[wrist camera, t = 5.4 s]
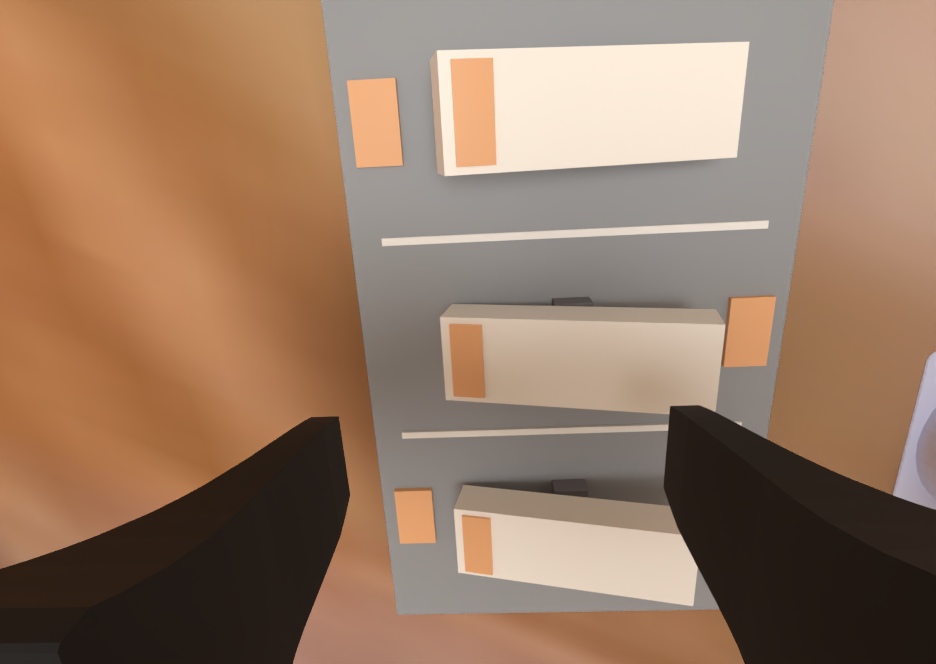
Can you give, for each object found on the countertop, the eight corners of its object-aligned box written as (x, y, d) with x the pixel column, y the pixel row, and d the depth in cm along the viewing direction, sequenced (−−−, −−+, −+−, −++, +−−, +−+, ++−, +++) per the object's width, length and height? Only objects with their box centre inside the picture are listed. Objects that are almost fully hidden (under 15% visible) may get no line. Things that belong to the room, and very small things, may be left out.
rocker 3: (694, 508, 18) (701, 539, 17) (687, 574, 19) (693, 608, 18) (463, 484, 20) (452, 510, 19) (467, 546, 21) (457, 574, 20)
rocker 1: (716, 50, 15) (752, 40, 14) (706, 156, 16) (739, 157, 15) (429, 59, 14) (437, 49, 12) (437, 173, 15) (445, 176, 13)
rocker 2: (715, 309, 16) (725, 325, 14) (706, 395, 17) (715, 419, 15) (451, 303, 18) (438, 318, 16) (456, 381, 19) (444, 401, 17)
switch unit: (797, -76, 16) (869, -126, 13) (715, 563, 24) (748, 623, 21) (336, -44, 17) (303, -84, 14) (405, 569, 25) (394, 629, 22)
